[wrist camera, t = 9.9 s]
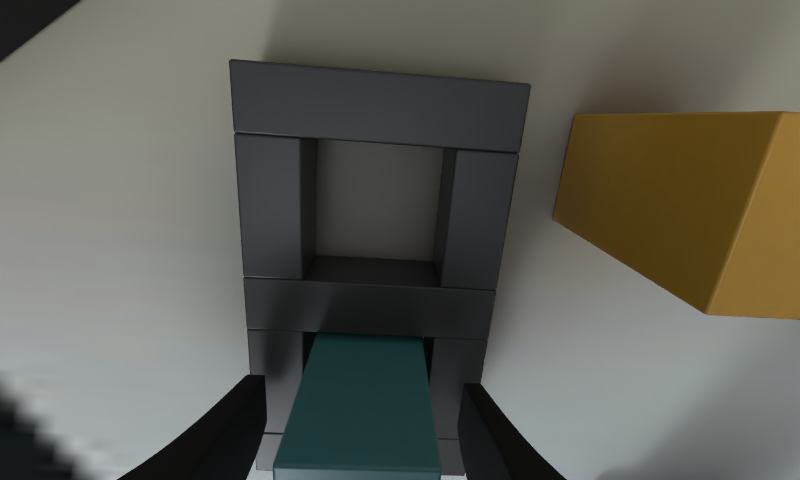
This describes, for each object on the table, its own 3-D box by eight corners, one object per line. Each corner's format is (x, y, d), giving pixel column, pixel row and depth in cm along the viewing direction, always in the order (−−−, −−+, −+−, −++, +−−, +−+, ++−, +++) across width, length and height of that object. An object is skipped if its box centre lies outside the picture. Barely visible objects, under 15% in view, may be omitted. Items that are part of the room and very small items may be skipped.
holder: (454, 428, 18) (464, 476, 16) (273, 422, 17) (256, 470, 15) (506, 89, 13) (532, 83, 11) (258, 69, 13) (227, 58, 10)
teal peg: (410, 387, 17) (426, 580, 10) (324, 384, 17) (276, 579, 10) (418, 311, 16) (443, 470, 9) (324, 306, 16) (271, 465, 8)
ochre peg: (647, 225, 15) (886, 325, 8) (551, 219, 15) (705, 316, 8) (678, 122, 14) (996, 128, 6) (573, 114, 13) (783, 111, 6)
